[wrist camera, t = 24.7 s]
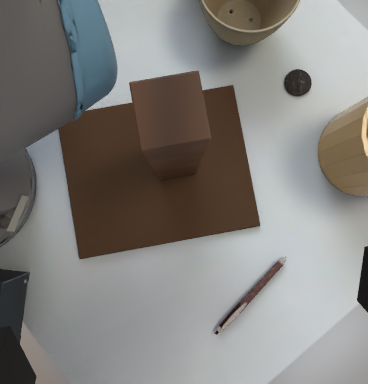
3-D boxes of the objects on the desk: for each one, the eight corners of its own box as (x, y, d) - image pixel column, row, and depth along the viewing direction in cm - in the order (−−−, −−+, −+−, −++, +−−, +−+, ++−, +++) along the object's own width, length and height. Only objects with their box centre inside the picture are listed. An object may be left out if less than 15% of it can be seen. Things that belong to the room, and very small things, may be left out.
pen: (217, 335, 36) (219, 338, 35) (212, 329, 36) (213, 333, 35) (288, 258, 36) (291, 260, 35) (282, 253, 36) (285, 255, 35)
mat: (81, 258, 36) (79, 259, 36) (57, 117, 37) (56, 115, 37) (259, 225, 37) (260, 225, 36) (232, 86, 38) (233, 84, 37)
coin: (310, 70, 38) (284, 69, 38) (311, 69, 38) (285, 68, 37) (310, 96, 38) (284, 95, 37) (311, 95, 37) (285, 94, 37)
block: (160, 180, 36) (141, 151, 18) (153, 145, 37) (128, 81, 19) (195, 174, 36) (211, 138, 18) (189, 139, 37) (198, 69, 19)
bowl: (235, -36, 38) (247, -92, 31) (298, 22, 38) (325, -21, 31) (175, 24, 38) (174, -19, 31) (239, 83, 38) (253, 53, 30)
